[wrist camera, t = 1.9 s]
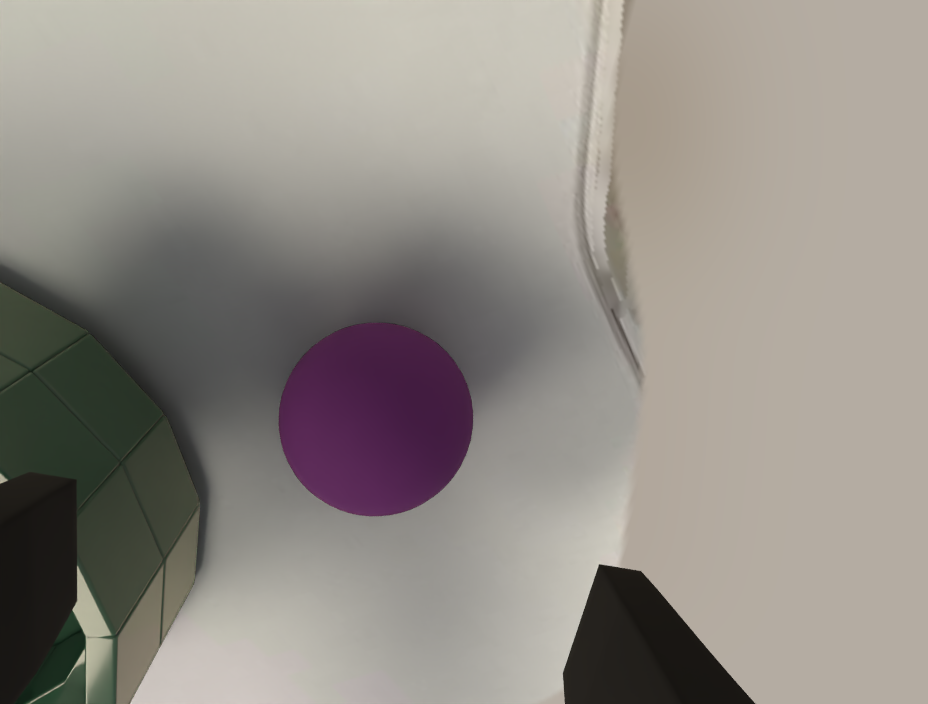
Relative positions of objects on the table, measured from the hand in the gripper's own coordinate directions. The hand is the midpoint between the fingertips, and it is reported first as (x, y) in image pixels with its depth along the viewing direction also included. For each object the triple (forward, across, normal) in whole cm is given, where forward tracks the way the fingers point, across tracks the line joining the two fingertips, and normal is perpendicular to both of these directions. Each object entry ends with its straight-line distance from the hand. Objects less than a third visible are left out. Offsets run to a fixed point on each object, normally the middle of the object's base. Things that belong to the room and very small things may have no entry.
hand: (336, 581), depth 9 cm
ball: (+5, 0, 0) cm, 5 cm away
